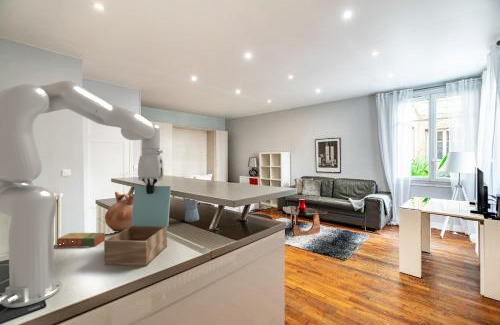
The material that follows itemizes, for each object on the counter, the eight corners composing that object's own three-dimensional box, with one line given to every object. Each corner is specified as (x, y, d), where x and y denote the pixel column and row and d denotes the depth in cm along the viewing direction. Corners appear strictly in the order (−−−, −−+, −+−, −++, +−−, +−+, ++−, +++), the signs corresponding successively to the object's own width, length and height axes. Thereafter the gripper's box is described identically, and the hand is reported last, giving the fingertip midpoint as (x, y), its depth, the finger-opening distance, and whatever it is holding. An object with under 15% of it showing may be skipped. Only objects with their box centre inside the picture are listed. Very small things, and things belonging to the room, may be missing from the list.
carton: (70, 241, 110) (70, 232, 110) (105, 240, 111) (105, 231, 111) (56, 248, 102) (56, 238, 102) (94, 247, 103) (94, 238, 102)
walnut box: (146, 266, 85) (146, 242, 85) (104, 264, 86) (104, 240, 86) (166, 246, 103) (166, 226, 103) (132, 245, 104) (131, 225, 104)
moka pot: (177, 221, 142) (177, 189, 142) (196, 216, 155) (196, 186, 155) (187, 224, 137) (187, 190, 136) (206, 218, 150) (206, 187, 149)
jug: (97, 230, 124) (96, 193, 124) (128, 222, 140) (128, 189, 140) (118, 236, 116) (118, 196, 115) (149, 226, 132) (149, 191, 131)
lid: (170, 186, 106) (171, 186, 107) (135, 185, 106) (137, 185, 108) (167, 226, 103) (169, 226, 105) (131, 225, 104) (133, 225, 106)
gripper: (170, 153, 107) (169, 192, 107) (139, 152, 108) (138, 192, 108) (163, 152, 100) (162, 195, 100) (129, 152, 100) (129, 194, 101)
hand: (150, 193), depth 104 cm, fingers closed
